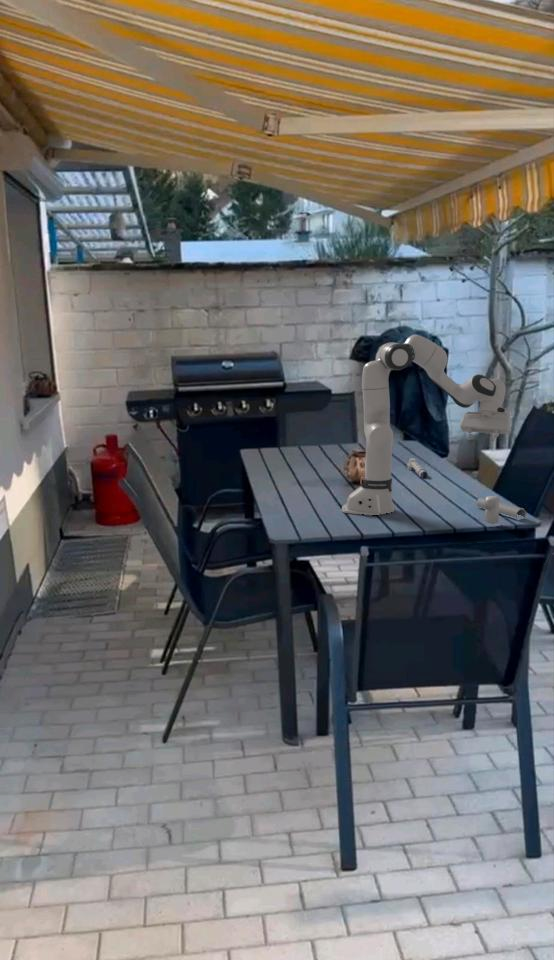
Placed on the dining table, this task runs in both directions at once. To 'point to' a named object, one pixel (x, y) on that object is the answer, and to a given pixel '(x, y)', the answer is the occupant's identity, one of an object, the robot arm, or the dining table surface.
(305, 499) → the dining table surface
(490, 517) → the elbow
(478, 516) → the dining table surface
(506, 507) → the tube
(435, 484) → the dining table surface
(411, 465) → the cream ribbed cylinder
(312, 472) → the dining table surface
